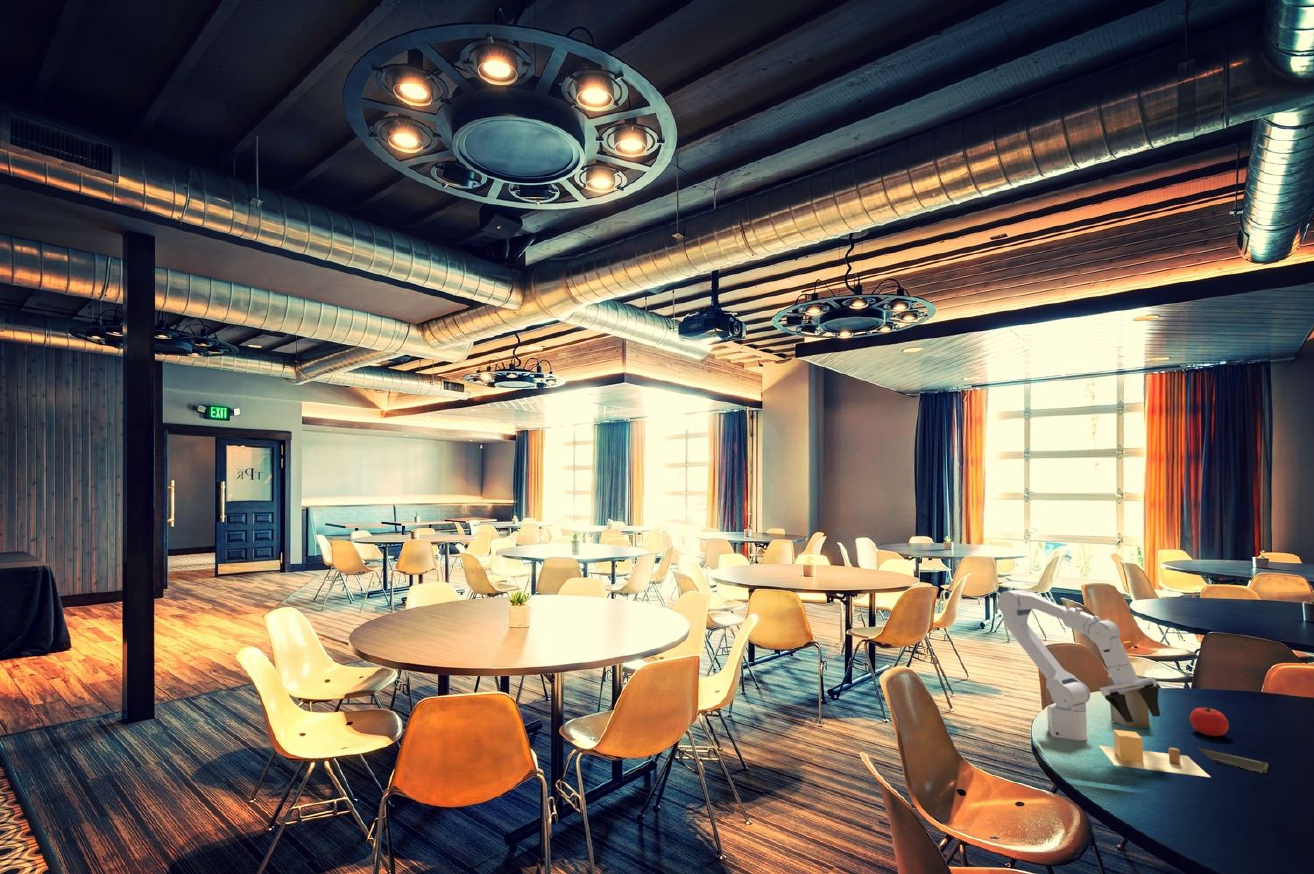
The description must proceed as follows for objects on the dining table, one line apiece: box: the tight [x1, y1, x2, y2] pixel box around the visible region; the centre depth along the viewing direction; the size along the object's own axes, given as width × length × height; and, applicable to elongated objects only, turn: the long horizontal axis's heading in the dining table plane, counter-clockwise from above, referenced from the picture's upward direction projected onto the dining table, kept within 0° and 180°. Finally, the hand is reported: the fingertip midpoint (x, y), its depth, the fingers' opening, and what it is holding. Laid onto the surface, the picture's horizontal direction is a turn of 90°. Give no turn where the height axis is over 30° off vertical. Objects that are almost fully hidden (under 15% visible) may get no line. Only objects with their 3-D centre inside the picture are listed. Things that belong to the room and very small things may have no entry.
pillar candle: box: [1107, 673, 1150, 729], centre depth 202 cm, size 10×10×15 cm
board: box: [1098, 745, 1211, 778], centre depth 171 cm, size 20×14×4 cm
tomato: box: [1189, 706, 1230, 737], centre depth 193 cm, size 9×9×8 cm
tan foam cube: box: [1113, 729, 1144, 763], centre depth 173 cm, size 5×5×6 cm
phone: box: [1196, 746, 1269, 774], centre depth 173 cm, size 8×1×15 cm
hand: (1143, 719), depth 173 cm, fingers open, 7 cm apart
